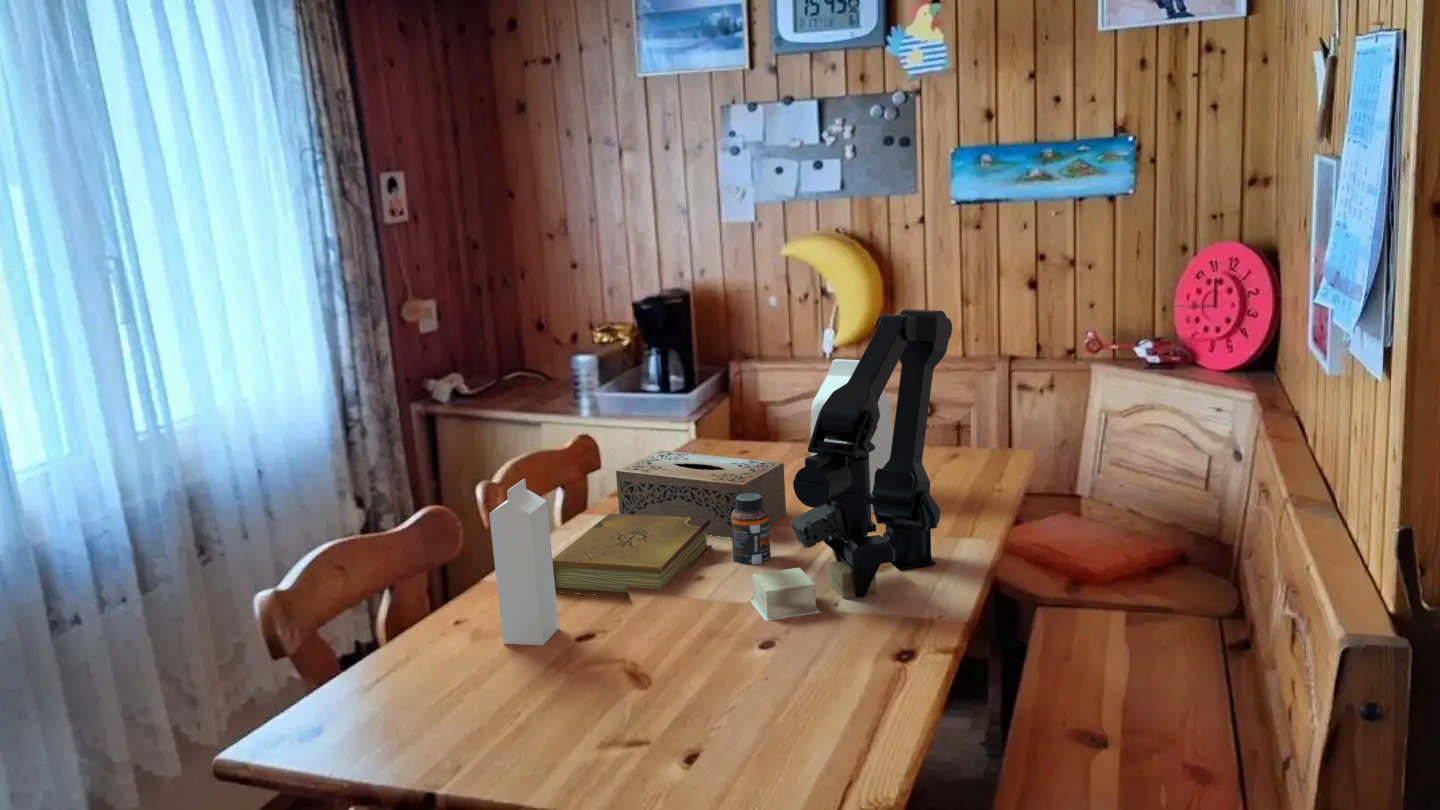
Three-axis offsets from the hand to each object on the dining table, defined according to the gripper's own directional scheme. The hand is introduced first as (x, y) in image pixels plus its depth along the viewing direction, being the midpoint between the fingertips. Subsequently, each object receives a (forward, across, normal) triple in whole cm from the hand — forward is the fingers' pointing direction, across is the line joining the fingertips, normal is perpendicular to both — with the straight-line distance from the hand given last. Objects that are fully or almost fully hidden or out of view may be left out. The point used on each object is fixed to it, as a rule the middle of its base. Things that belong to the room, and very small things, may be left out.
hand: (853, 591), depth 175 cm
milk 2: (+1, -44, +16) cm, 47 cm away
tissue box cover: (+2, -45, -12) cm, 47 cm away
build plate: (+1, +2, -11) cm, 11 cm away
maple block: (0, +2, -11) cm, 11 cm away
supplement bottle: (+1, -19, -10) cm, 22 cm away
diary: (+2, -25, -28) cm, 38 cm away
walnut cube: (+1, 0, 0) cm, 1 cm away
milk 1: (+1, -4, -46) cm, 46 cm away
